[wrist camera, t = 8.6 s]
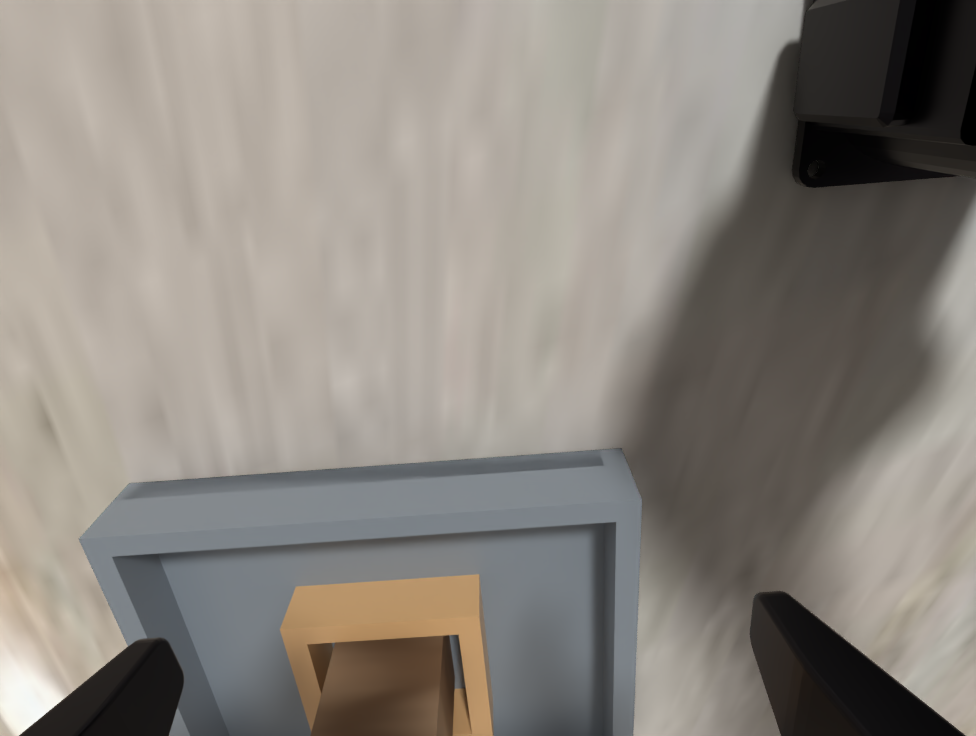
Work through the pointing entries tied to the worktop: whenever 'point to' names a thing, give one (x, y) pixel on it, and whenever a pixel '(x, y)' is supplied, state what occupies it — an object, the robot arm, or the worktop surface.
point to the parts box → (388, 586)
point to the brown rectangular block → (388, 689)
